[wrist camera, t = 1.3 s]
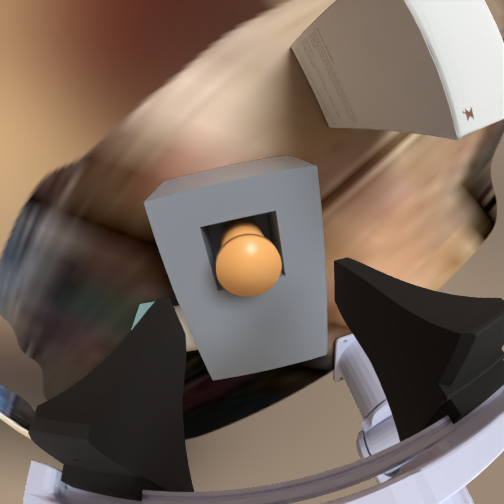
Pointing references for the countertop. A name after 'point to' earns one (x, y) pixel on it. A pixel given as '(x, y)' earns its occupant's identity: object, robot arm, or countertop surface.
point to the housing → (208, 245)
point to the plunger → (246, 259)
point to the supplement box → (406, 66)
